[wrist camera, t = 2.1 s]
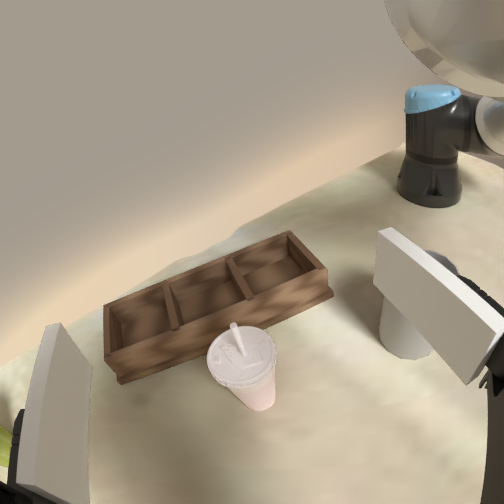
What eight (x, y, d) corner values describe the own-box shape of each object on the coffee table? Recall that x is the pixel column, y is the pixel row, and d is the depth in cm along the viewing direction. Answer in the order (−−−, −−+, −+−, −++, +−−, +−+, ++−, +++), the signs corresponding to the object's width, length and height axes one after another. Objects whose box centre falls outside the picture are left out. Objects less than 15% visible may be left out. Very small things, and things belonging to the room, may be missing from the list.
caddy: (294, 252, 51) (290, 227, 48) (333, 296, 42) (332, 270, 39) (116, 324, 45) (100, 304, 42) (120, 384, 36) (101, 365, 33)
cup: (374, 355, 33) (384, 299, 27) (382, 304, 38) (389, 246, 32) (439, 362, 29) (464, 307, 23) (439, 310, 35) (457, 253, 29)
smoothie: (271, 430, 28) (240, 369, 20) (221, 408, 32) (173, 339, 23) (297, 383, 32) (282, 304, 24) (249, 366, 36) (217, 286, 27)
